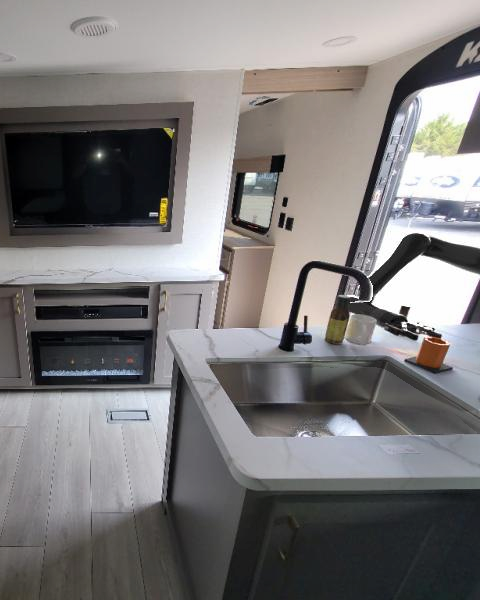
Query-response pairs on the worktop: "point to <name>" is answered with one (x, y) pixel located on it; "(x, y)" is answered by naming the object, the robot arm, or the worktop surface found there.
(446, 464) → the worktop surface
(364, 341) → the mug
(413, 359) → the mat
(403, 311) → the stand
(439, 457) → the worktop surface
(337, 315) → the sauce bottle
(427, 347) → the orange spice jar
